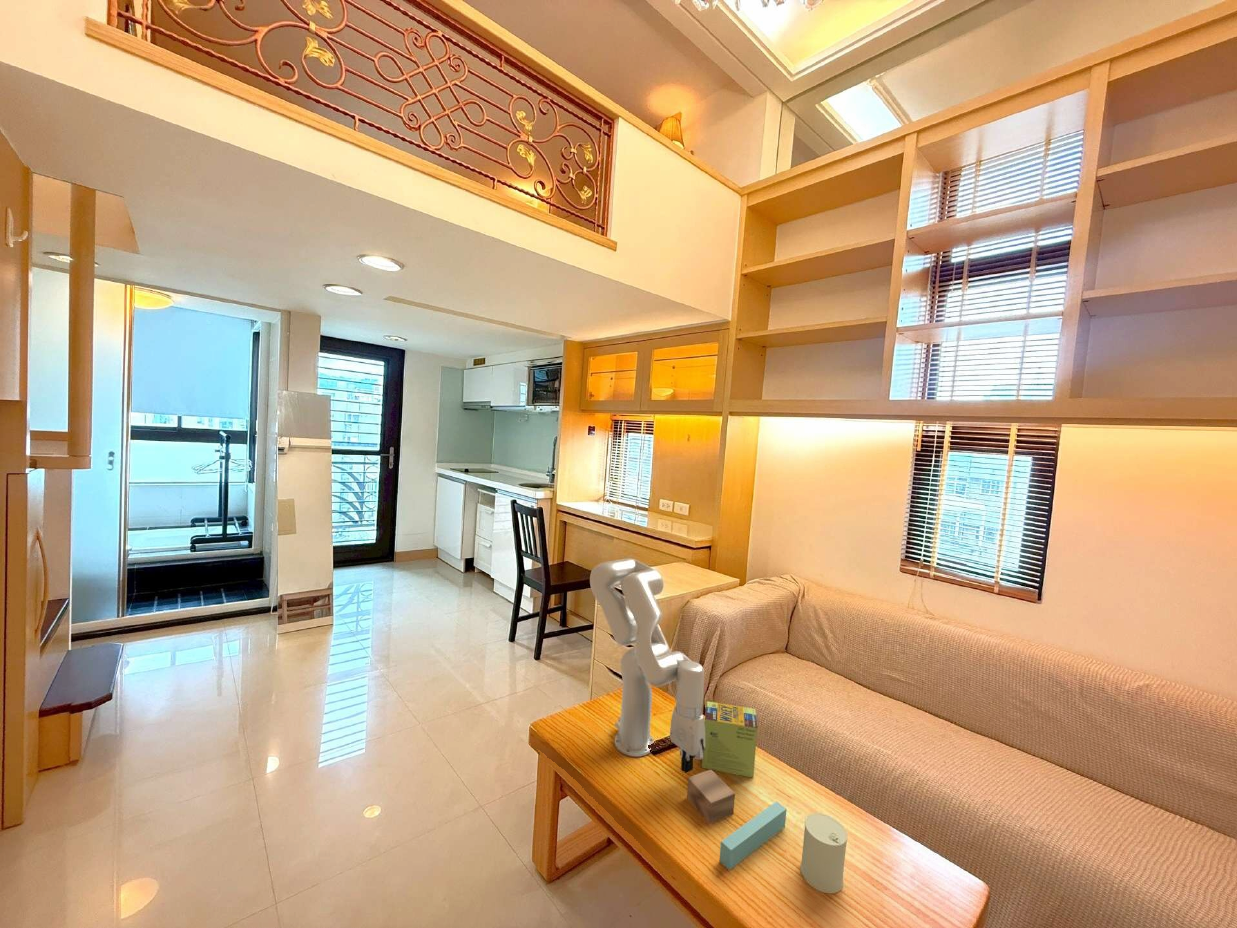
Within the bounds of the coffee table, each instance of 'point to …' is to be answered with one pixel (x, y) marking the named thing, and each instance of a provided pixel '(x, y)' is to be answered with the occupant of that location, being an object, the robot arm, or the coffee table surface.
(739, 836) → the teal board
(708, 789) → the brown block
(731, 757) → the protein box
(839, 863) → the can
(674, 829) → the coffee table surface
